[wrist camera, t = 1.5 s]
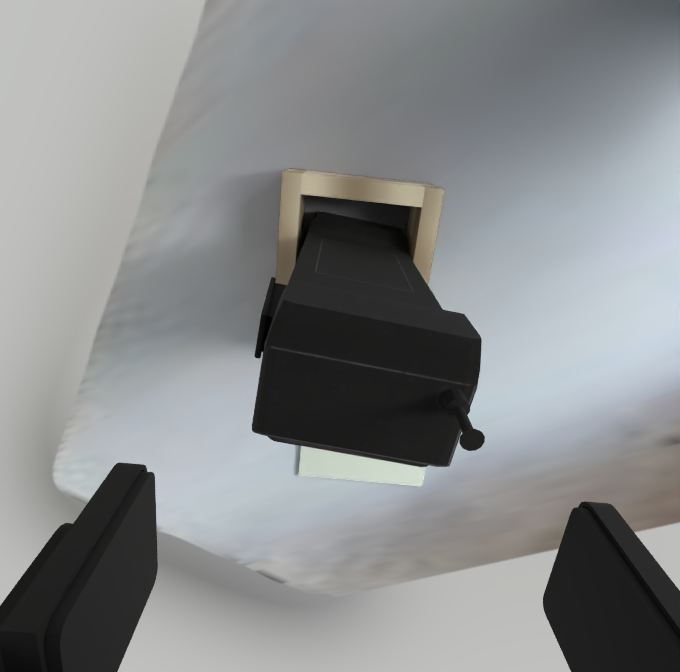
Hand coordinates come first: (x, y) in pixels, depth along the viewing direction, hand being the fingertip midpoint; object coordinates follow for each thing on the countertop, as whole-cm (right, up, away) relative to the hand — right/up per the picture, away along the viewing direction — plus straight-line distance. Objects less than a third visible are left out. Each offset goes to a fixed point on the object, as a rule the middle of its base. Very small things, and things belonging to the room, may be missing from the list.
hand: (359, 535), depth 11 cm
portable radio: (0, +10, +26) cm, 28 cm away
